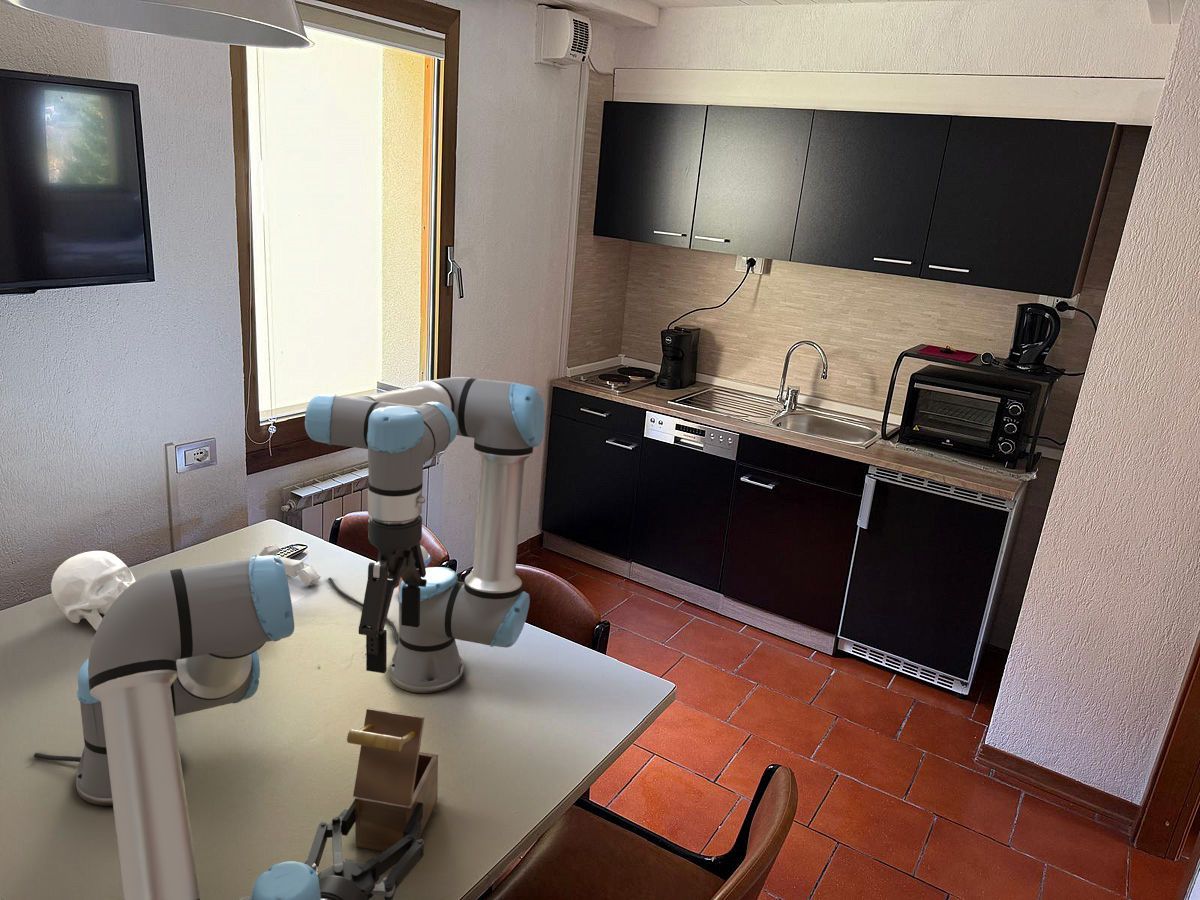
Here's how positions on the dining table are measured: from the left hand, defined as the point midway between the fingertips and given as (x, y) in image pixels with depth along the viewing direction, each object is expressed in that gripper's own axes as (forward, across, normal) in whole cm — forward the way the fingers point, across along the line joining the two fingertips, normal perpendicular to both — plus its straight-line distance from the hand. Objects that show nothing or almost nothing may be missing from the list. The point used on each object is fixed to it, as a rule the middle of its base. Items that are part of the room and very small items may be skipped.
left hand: (391, 804), depth 135 cm
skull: (+48, -87, -6) cm, 100 cm away
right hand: (+1, 0, +28) cm, 28 cm away
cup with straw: (+79, -26, -6) cm, 83 cm away
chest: (+3, 0, -6) cm, 7 cm away
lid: (-1, 0, +10) cm, 10 cm away
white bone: (+80, -60, -6) cm, 100 cm away
